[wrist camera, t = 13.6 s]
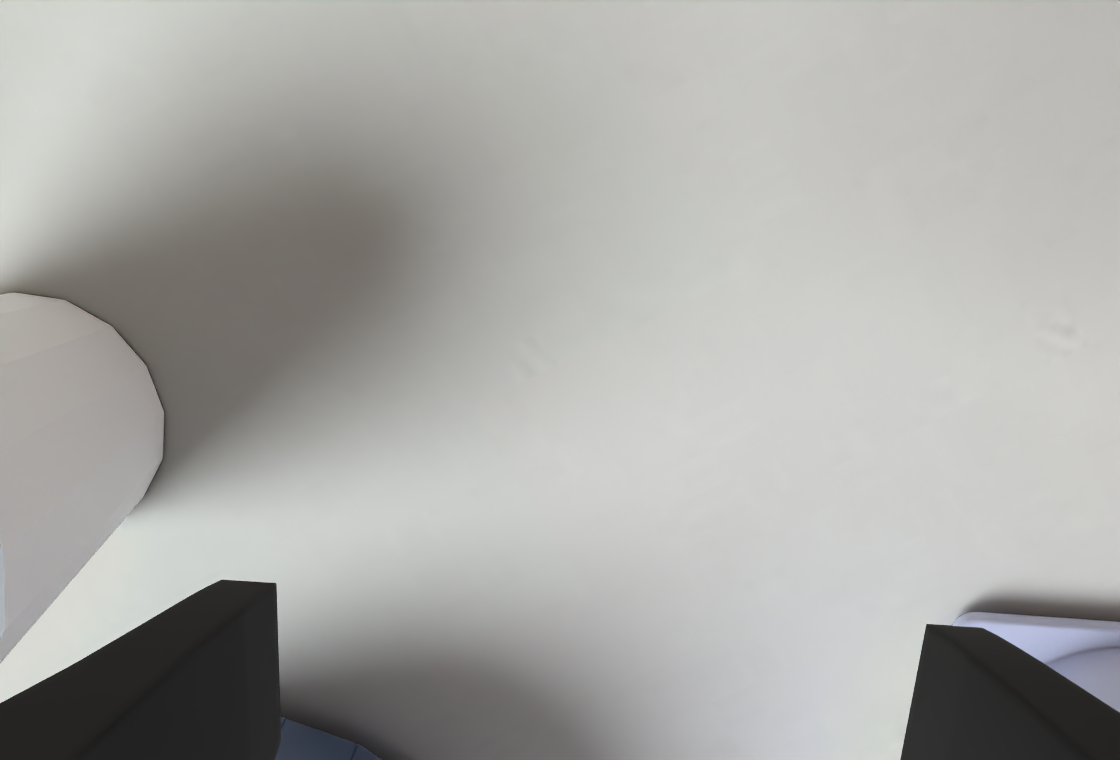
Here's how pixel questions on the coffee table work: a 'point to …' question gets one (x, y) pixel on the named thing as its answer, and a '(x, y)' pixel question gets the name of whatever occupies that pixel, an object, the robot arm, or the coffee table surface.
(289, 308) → the coffee table surface
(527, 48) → the coffee table surface
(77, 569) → the white cylinder
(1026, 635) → the robot arm
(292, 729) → the bowl
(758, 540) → the coffee table surface
